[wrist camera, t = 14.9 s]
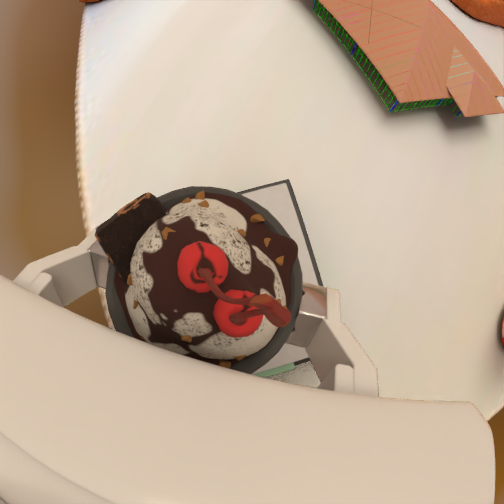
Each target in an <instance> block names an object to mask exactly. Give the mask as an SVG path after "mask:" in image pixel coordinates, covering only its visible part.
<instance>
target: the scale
mask: <svg viewBox="0 0 504 504" xmlns="http://www.w3.org/2000/svg"><path fill="white" fill-rule="evenodd" d="M237 193H238V194H241V195H243V196H245V197H247V198H249V199H251V200H253V201H255V202H256V203H258V204H259V205H261V206H262V207H264V208H265V209H267V210H268V211H269V212H270V213H271V214H272V215H273V216H274V217H275V218H276V219H277V220H278V221H279V222H280V224H281V225H282V226H283V228H284V229H285V230H286V232H287V233H288V234H289V236H290V237H291V238H292V239H293V240H294V241H295V242H296V243H297V245H298V258H299V262H300V266H301V270H302V274H303V282H307V283H311V284H315V285H319V286H323V284H322V280H321V277H320V273H319V270H318V267H317V263H316V260H315V257H314V254H313V250H312V247H311V244H310V241H309V238H308V234H307V231H306V228H305V225H304V222H303V219H302V216H301V213H300V210H299V207H298V204H297V201H296V198H295V195H294V192H293V189H292V186H291V183H290V181H289V179H287V180H283V181H279V182H275V183H271V184H267V185H263V186H260V187H256V188H252V189H248V190H245V191H241V192H237ZM305 349H306V348H302V347H298V346H294V345H291V344H287V343H285V344H284V345H283V347H282V348H281V349H280V351H279V352H278V353H277V354H276V355H275V356H274V357H273V358H272V359H271V360H270V361H269V362H268V363H266V364H265V365H264V366H262V367H261V368H260V369H258V370H257V371H255V372H254V373H252V375H256V376H260V377H264V378H265V377H269V376H272V375H276V374H279V373H283V372H286V371H289V370H292V369H295V365H298V364H301V363H304V362H307V361H310V358H309V356H308V354H307V352H306V350H305Z"/></svg>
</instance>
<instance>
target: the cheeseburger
mask: <svg viewBox="0 0 504 504" xmlns="http://www.w3.org/2000/svg"><path fill="white" fill-rule="evenodd" d="M79 1H80V2H94V1H100V0H79Z"/></svg>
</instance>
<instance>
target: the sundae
mask: <svg viewBox="0 0 504 504" xmlns="http://www.w3.org/2000/svg"><path fill="white" fill-rule="evenodd" d="M95 237H96V239H97V241H98V242H99V244H100V246H101V247H102V249H103V251H104V252H105V254H106V256H107V257H108V259H109V260H110V264H109V268H108V273H107V281H106V299H107V304H108V310H109V313H110V316H111V319H112V322H113V325H114V327H115V330H116V331H118V332H120V333H123V334H125V335H128V336H130V337H133V338H136V339H138V340H141V341H144V342H146V343H149V344H152V345H155V346H157V347H160V348H163V349H166V350H169V351H172V352H175V353H178V354H181V355H184V356H187V357H191V358H194V359H197V360H200V361H204V362H207V363H211V364H214V365H218V366H221V367H225V368H228V369H232V370H236V371H240V372H244V373H248V374H252V373H254V372H255V371H257V370H258V369H260V368H261V367H262V366H264V365H265V364H266V363H268V362H269V361H270V360H271V359H272V358H273V357H274V356H275V355H276V354H277V353H278V352H279V351H280V349H281V348H282V347H283V345H284V344H285V342H286V341H287V340H288V338H289V336H290V334H291V332H292V330H293V328H294V326H295V322H294V321H295V317H296V314H297V311H298V307H299V304H300V303H301V301H302V288H303V274H302V270H301V266H300V262H299V258H298V245H297V243H296V242H295V241H294V240H293V239H292V238H291V237H290V236H289V234H288V233H287V232H286V230H285V229H284V228H283V226H282V225H281V224H280V222H279V221H278V220H277V219H276V218H275V217H274V216H273V215H272V214H271V213H270V212H269V211H268V210H267V209H265V208H264V207H262V206H261V205H259V204H258V203H256V202H255V201H253V200H251V199H249V198H247V197H245V196H243V195H241V194H238V193H235V192H232V191H229V190H227V189H221V188H214V187H194V186H191V187H187V188H183V189H179V190H175V191H172V192H169V193H167V194H164V195H162V196H160V197H157V198H156V197H155V196H154V195H152V194H151V193H145V194H143V195H141V196H140V197H138V198H137V199H135V200H133V201H132V202H130V203H129V204H127V205H126V206H124V207H123V208H121V209H120V210H119V211H118V212H116V213H115V214H114V215H113V216H112V217H111V218H110V219H108V220H107V221H105V222H104V223H102V224H101V225H100V226H98V227H97V228H96V232H95Z"/></svg>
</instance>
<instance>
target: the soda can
mask: <svg viewBox="0 0 504 504" xmlns="http://www.w3.org/2000/svg"><path fill="white" fill-rule="evenodd" d="M502 342H503V346H504V317H503V321H502Z"/></svg>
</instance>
